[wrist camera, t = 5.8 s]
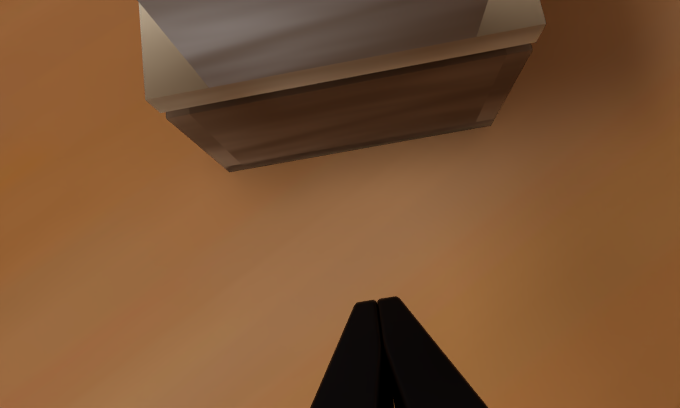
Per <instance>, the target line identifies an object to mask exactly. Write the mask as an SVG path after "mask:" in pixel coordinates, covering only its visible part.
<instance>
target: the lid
mask: <svg viewBox="0 0 680 408" xmlns="http://www.w3.org/2000/svg"><path fill="white" fill-rule="evenodd" d="M138 2H139V12H140V27H141V42H142V57H143V72H144V87H145V100H146V101H147V102H148V103H150V104H151V105H152V106H153V107H154V108H155V109H157V110H158V111H159V112H160V113H163V112H168V111H173V110H179V109H184V108H189V107H195V106H200V105H205V104H211V103H216V102H221V101H227V100H232V99H237V98H242V97H248V96H253V95H258V94H264V93H269V92H274V91H280V90H285V89H290V88H296V87H301V86H306V85H312V84H317V83H322V82H328V81H333V80H338V79H343V78H349V77H354V76H359V75H365V74H370V73H375V72H381V71H386V70H391V69H397V68H402V67H407V66H413V65H418V64H423V63H429V62H434V61H439V60H444V59H450V58H455V57H460V56H466V55H471V54H476V53H482V52H487V51H492V50H498V49H503V48H508V47H514V46H519V45H524V44H529V43H535V42H537V40H538V38H539V36H540V34H541V32H542V31H543V29H544V27H545V25H546V21H545V17H544V13H543V10H542V6H541V3H540V0H138Z"/></svg>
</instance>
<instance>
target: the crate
mask: <svg viewBox="0 0 680 408" xmlns="http://www.w3.org/2000/svg"><path fill="white" fill-rule="evenodd" d="M531 52H532V46H531V43H529V44H524V45H519V46H514V47H508V48H503V49H498V50H492V51H487V52H482V53H476V54H471V55H466V56H460V57H455V58H450V59H444V60H439V61H434V62H429V63H423V64H418V65H413V66H407V67H402V68H397V69H391V70H386V71H381V72H375V73H370V74H365V75H359V76H354V77H349V78H343V79H338V80H333V81H328V82H322V83H317V84H312V85H306V86H301V87H296V88H290V89H285V90H280V91H274V92H269V93H264V94H258V95H253V96H248V97H242V98H237V99H232V100H227V101H221V102H216V103H211V104H205V105H200V106H195V107H189V108H184V109H179V110H173V111H168V112H166V119H167V120H169V121H170V122H171V123H172V124H173V125H174V126H176V127H177V128H178V129H179V130H180V131H182V132H183V133H184V134H185V135H186V136H187V137H189V138H190V139H191V140H192V141H193V142H195V143H196V144H197V145H198V146H199V147H200V148H202V149H203V150H204V151H205V152H206V153H208V154H209V155H210V156H211V157H212V158H213V159H215V160H216V161H217V162H218V163H219V164H221V165H222V166H223V167H224V168H225V169H226V170H228V171H229V172H233V171H238V170H244V169H249V168H255V167H261V166H266V165H272V164H277V163H283V162H289V161H294V160H300V159H306V158H311V157H317V156H322V155H328V154H334V153H339V152H345V151H350V150H356V149H362V148H367V147H373V146H378V145H384V144H390V143H395V142H401V141H407V140H412V139H418V138H423V137H429V136H435V135H440V134H446V133H451V132H457V131H463V130H468V129H474V128H480V127H485V126H491V124H492V122H493V121H494V119H495V117H496V115H497V113H498V111H499V110H500V108H501V106H502V104H503V102H504V101H505V99H506V97H507V95H508V93H509V92H510V90H511V88H512V86H513V84H514V83H515V81H516V79H517V77H518V75H519V74H520V72H521V70H522V68H523V66H524V65H525V63H526V61H527V59H528V57H529V55H530V54H531Z"/></svg>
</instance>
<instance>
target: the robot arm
mask: <svg viewBox="0 0 680 408" xmlns="http://www.w3.org/2000/svg"><path fill="white" fill-rule="evenodd" d="M393 400H394V401H393ZM394 405H395V408H488V407H487V406H486V404H485V403H484V402H483V401H482V399H481V398H480V397H479V396H478V394H477V393H476V392H475V391H474V390H473V388H472V387H471V386H470V385H469V383H468V382H467V381H466V380H465V378H464V377H463V376H462V375H461V373H460V372H459V371H458V370H457V369H456V367H455V366H454V365H453V364H452V362H451V361H450V360H449V359H448V357H447V356H446V355H445V354H444V352H443V351H442V350H441V349H440V348H439V346H438V345H437V344H436V343H435V341H434V340H433V339H432V338H431V336H430V335H429V334H428V333H427V332H426V330H425V329H424V328H423V327H422V325H421V324H420V323H419V322H418V320H417V319H416V318H415V317H414V315H413V314H412V313H411V312H410V311H409V309H408V308H407V307H406V306H405V304H404V303H403V302H402V301H401V299H400V298H398V297H396V296H395V297H388V298H382V299H379V300H378V302H376V301H375V300H369V301H363V302H357V303H356V304H355V305H354V307H353V310H352V312H351V314H350V317H349V319H348V321H347V324H346V326H345V328H344V331H343V333H342V335H341V338H340V340H339V342H338V345H337V347H336V349H335V351H334V354H333V356H332V358H331V361H330V363H329V365H328V368H327V370H326V372H325V375H324V377H323V379H322V382H321V384H320V386H319V389H318V391H317V393H316V396H315V398H314V400H313V403H312V405H311V407H310V408H394Z"/></svg>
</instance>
